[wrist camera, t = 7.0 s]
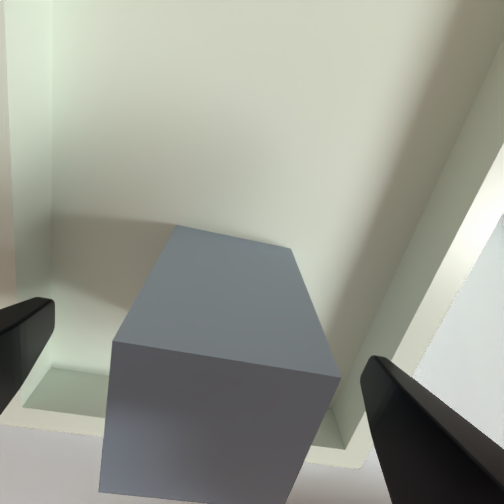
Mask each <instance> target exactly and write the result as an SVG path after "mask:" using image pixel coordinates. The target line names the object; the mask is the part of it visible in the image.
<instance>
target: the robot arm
mask: <svg viewBox="0 0 504 504" xmlns="http://www.w3.org/2000/svg"><path fill="white" fill-rule="evenodd" d="M54 328H55V302H54V300H52V299H49V298H43V297H34V298H31V299H28V300H25V301H22V302H20V303H17V304H14V305H11V306H8V307H5V308H2V309H0V415H1V414H2V413H3V411H4V410H5V408H6V407H7V406H8V404H9V403H10V402H11V400H12V399H13V398H14V396H15V395H16V393H17V392H18V391H19V389H20V388H21V386H22V385H23V383H24V382H25V380H26V378H27V377H28V375H29V373H30V372H31V370H32V368H33V366H34V365H35V363H36V361H37V359H38V358H39V356H40V354H41V353H42V351H43V349H44V347H45V346H46V344H47V342H48V340H49V339H50V337H51V335H52V333H53V331H54ZM360 386H361V390H362V395H363V400H364V405H365V410H366V414H367V419H368V424H369V428H370V433H371V436H372V440H373V443H374V446H375V450H376V453H377V456H378V459H379V462H380V466H381V469H382V472H383V475H384V478H385V482H386V485H387V488H388V491H389V494H390V498H391V501H392V504H504V449H503V448H501V447H500V446H499V445H498V444H496V443H495V442H494V441H492V440H491V439H490V438H489V437H487V436H486V435H485V434H483V433H482V432H481V431H480V430H478V429H477V428H476V427H474V426H473V425H472V424H471V423H469V422H468V421H467V420H465V419H464V418H463V417H462V416H460V415H459V414H458V413H457V412H455V411H454V410H453V409H451V408H450V407H449V406H448V405H446V404H445V403H444V402H442V401H441V400H440V399H439V398H437V397H436V396H435V395H433V394H432V393H431V392H430V391H428V390H427V389H426V388H424V387H423V386H422V385H421V384H419V383H418V382H417V381H416V380H414V379H413V378H412V377H410V376H409V375H408V374H407V373H405V372H404V371H403V370H401V369H400V368H399V367H398V366H396V365H395V364H394V363H392V362H391V361H390V360H389V359H387V358H386V357H382V356H376V355H372V356H371V357H370V358H369V359H368V361H367V363H366V365H365V368H364V370H363V372H362V374H361V377H360Z"/></svg>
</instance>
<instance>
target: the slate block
mask: <svg viewBox="0 0 504 504" xmlns="http://www.w3.org/2000/svg"><path fill="white" fill-rule="evenodd" d="M341 378H342V377H341V374H340V372H339V369H338V367H337V364H336V362H335V359H334V357H333V354H332V352H331V349H330V346H329V344H328V341H327V339H326V336H325V334H324V331H323V329H322V326H321V324H320V321H319V318H318V316H317V313H316V311H315V308H314V306H313V303H312V301H311V298H310V296H309V293H308V291H307V288H306V285H305V283H304V280H303V278H302V275H301V273H300V270H299V268H298V265H297V263H296V260H295V257H294V255H293V252H292V250H291V249H290V248H285V247H280V246H275V245H271V244H266V243H261V242H256V241H252V240H247V239H242V238H237V237H233V236H228V235H223V234H218V233H214V232H209V231H204V230H200V229H195V228H190V227H185V226H181V225H176V227H175V229H174V230H173V232H172V234H171V236H170V238H169V239H168V241H167V243H166V245H165V247H164V248H163V250H162V252H161V254H160V256H159V257H158V259H157V261H156V263H155V265H154V266H153V268H152V270H151V272H150V274H149V275H148V277H147V279H146V281H145V283H144V284H143V286H142V288H141V290H140V292H139V293H138V295H137V297H136V299H135V301H134V303H133V304H132V306H131V308H130V310H129V312H128V313H127V315H126V317H125V319H124V321H123V322H122V324H121V326H120V328H119V330H118V331H117V333H116V335H115V337H114V339H113V340H112V350H111V361H110V372H109V383H108V394H107V405H106V416H105V427H104V438H103V449H102V460H101V471H100V482H99V492H101V493H111V494H120V495H130V496H140V497H150V498H160V499H170V500H179V501H189V502H199V503H209V504H285V502H286V500H287V498H288V496H289V494H290V491H291V489H292V487H293V485H294V482H295V480H296V478H297V476H298V474H299V471H300V469H301V467H302V465H303V462H304V460H305V458H306V456H307V454H308V451H309V449H310V447H311V445H312V443H313V440H314V438H315V436H316V434H317V431H318V429H319V427H320V425H321V423H322V420H323V418H324V416H325V414H326V411H327V409H328V407H329V405H330V403H331V400H332V398H333V396H334V394H335V391H336V389H337V387H338V385H339V383H340V380H341Z"/></svg>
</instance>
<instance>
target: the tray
mask: <svg viewBox="0 0 504 504" xmlns="http://www.w3.org/2000/svg"><path fill="white" fill-rule="evenodd" d="M503 212H504V0H0V309H2V308H5V307H8V306H11V305H14V304H17V303H20V302H22V301H25V300H28V299H31V298H34V297H43V298H49V299H52V300H54V302H55V328H54V331H53V333H52V335H51V337H50V339H49V340H48V342H47V344H46V346H45V347H44V349H43V351H42V353H41V354H40V356H39V358H38V359H37V361H36V363H35V365H34V366H33V368H32V370H31V372H30V373H29V375H28V377H27V378H26V380H25V382H24V383H23V385H22V386H21V388H20V389H19V391H18V392H17V393H16V395H15V396H14V398H13V399H12V400H11V402H10V403H9V404H8V406H7V407H6V408H5V410H4V411H3V413H2V414H1V415H0V425H8V426H16V427H24V428H32V429H40V430H48V431H56V432H64V433H72V434H80V435H88V436H96V437H104V427H105V416H106V405H107V394H108V383H109V372H110V361H111V350H112V340H113V339H114V337H115V335H116V333H117V331H118V330H119V328H120V326H121V324H122V322H123V321H124V319H125V317H126V315H127V313H128V312H129V310H130V308H131V306H132V304H133V303H134V301H135V299H136V297H137V295H138V293H139V292H140V290H141V288H142V286H143V284H144V283H145V281H146V279H147V277H148V275H149V274H150V272H151V270H152V268H153V266H154V265H155V263H156V261H157V259H158V257H159V256H160V254H161V252H162V250H163V248H164V247H165V245H166V243H167V241H168V239H169V238H170V236H171V234H172V232H173V230H174V229H175V227H176V225H181V226H185V227H190V228H195V229H200V230H204V231H209V232H214V233H218V234H223V235H228V236H233V237H237V238H242V239H247V240H252V241H256V242H261V243H266V244H271V245H275V246H280V247H285V248H290V249H291V250H292V252H293V255H294V257H295V260H296V263H297V265H298V268H299V270H300V273H301V275H302V278H303V280H304V283H305V285H306V288H307V291H308V293H309V296H310V298H311V301H312V303H313V306H314V308H315V311H316V313H317V316H318V318H319V321H320V324H321V326H322V329H323V331H324V334H325V336H326V339H327V341H328V344H329V346H330V349H331V352H332V354H333V357H334V359H335V362H336V364H337V367H338V369H339V372H340V374H341V377H342V378H341V380H340V383H339V385H338V387H337V389H336V391H335V394H334V396H333V398H332V400H331V403H330V405H329V407H328V409H327V411H326V414H325V416H324V418H323V420H322V423H321V425H320V427H319V429H318V431H317V434H316V436H315V438H314V440H313V443H312V445H311V447H310V449H309V451H308V454H307V456H306V458H305V460H304V462H306V463H314V464H322V465H330V466H338V467H346V468H354V469H360V468H361V466H362V464H363V462H364V461H365V459H366V457H367V455H368V454H369V452H370V450H371V448H372V446H373V445H374V443H373V440H372V436H371V433H370V428H369V424H368V419H367V414H366V410H365V405H364V400H363V395H362V390H361V386H360V377H361V374H362V372H363V370H364V368H365V365H366V363H367V361H368V359H369V358H370V357H371V356H372V355H376V356H382V357H386V358H387V359H389V360H390V361H391V362H392V363H394V364H395V365H396V366H398V367H399V368H400V369H401V370H403V371H404V372H405V373H407V374H408V375H409V376H410V377H412V375H413V373H414V371H415V369H416V368H417V366H418V364H419V362H420V361H421V359H422V357H423V355H424V353H425V352H426V350H427V348H428V346H429V344H430V343H431V341H432V339H433V337H434V336H435V334H436V332H437V330H438V328H439V327H440V325H441V323H442V321H443V319H444V318H445V316H446V314H447V312H448V310H449V309H450V307H451V305H452V303H453V302H454V300H455V298H456V296H457V294H458V293H459V291H460V289H461V287H462V285H463V284H464V282H465V280H466V278H467V277H468V275H469V273H470V271H471V269H472V268H473V266H474V264H475V262H476V260H477V259H478V257H479V255H480V253H481V251H482V250H483V248H484V246H485V244H486V243H487V241H488V239H489V237H490V235H491V234H492V232H493V230H494V228H495V226H496V225H497V223H498V221H499V219H500V217H501V216H502V214H503Z"/></svg>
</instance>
